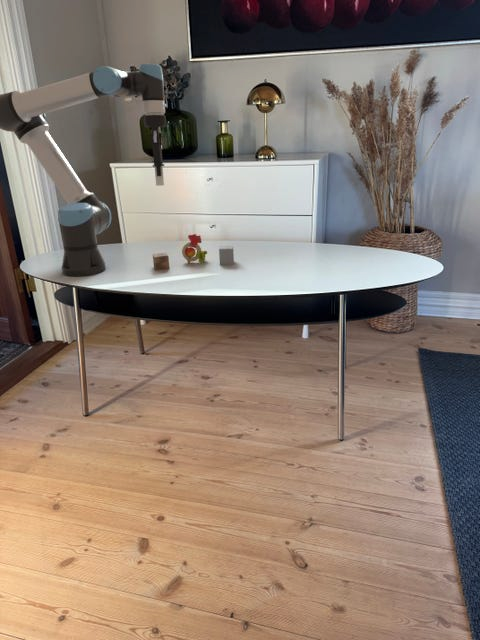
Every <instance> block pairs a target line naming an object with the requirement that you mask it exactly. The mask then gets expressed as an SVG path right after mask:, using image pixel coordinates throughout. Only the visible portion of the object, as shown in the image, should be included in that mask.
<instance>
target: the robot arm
mask: <svg viewBox="0 0 480 640" xmlns="http://www.w3.org/2000/svg"><path fill="white" fill-rule="evenodd" d="M164 82H165V81H164V75H163V69H162V66H161V65H160V64H158V63H141V64H140V65H139V69H138V70H137V71H121V70H119V69H116V68H114V67H113V66H110V65H109V66H108V65H102V66H99V67H97V68H96V69H95V70H94V71H92V72H87V73H83V74H80V75H76V76H74V77H71V78H68V79H64V80H60V81H57V82H54V83H50V84H46V85H43V86H40V87H36V88H33V89H30V90H27V91H23V92H20V91H18V90H13V91H9V92H5V93H2V94H0V129H1V130H2V131H6V132H11V133H13V134H14V135H15V136H16V138H18V140H19V142H20V143H22V144H26V145H27V146H28V147H29V149H30V151H32V153H33V155H34V156H35V157H36V159H37V161H38V162H39V163H40V165H41V166H42V168H43V169H44V171H45V172H46V174H47V175H48V177H49V178H50V180H51V181H52V182H53V184H54V185H55V187H56V188H57V189H58V191H59V193H60V194H61V196H62V197H63V199H64V200H65V202H66V204H65V205H63V206H61V207H59V209H58V210H57V222H58V223H59V224H58V226H59V229H60V230H59V231H60V236H61V241H62V246H63V256H62V264H61V271H62V274H63V275H64V276H69V277H83V276H90V275H91V276H92V275H96V274H98V273H102V272H105V271H106V269H107V268H106V262H105V259H104V258H103V256H102V254H101V252H100V250H99V247H98V240H97V239H98V238H97V235H100V234H102V233H103V232H105V231H106V230H107V229H108V228H110V227H109V226H110V225H111V223H112V211H111V210H110V208H109V207H108V205H106V203H104V202H102V201H100V200H99V199H98V197H97V196H96V194H95V193H94V192H92V191H91V192H90V191H88V190H87V188H86V187H85V185H84V184H83V182H82V181H81V179H80V178H79V176H78V175H77V173H76V172H75V171H74V170H75V169H74V168H72V166H71V164H70V162H69V161H68V159H67V158H66V157H65V155H64V153H63V152H62V151H61V149H60V148H59V146H58V144H56V142H55V141H54V139H53V137H52V136H51V134H50V133H49V130H50V125H49V124H48V121H46V117H47V116H46V114H48V113H52V112H55V111H58V110H62V109H65V108H68V107H72V106H77V105H79V104H82V103H86V102H89V101H93V100H95V99H100V98H104V97H108V96H109V97H110V98H111V97H114V98H121V97H123V98H124V97H141V99H142V101H141V102H142V112H143V114H144V116H143V123H144V127H146V128H151V132H150V133H149V137H150V140H151V141H150V142H151V143H150V144H151V147H152V156H153V164H152V167H153V168H154V174H155V175H154V176H155V186H156V187H157V186H158V187H160V186H162V187H163V186H165V181H164V180H165V179H164V167H165V163H163V153H162V152H163V151H162V150H163V149H162V146H163V132H160V131H161V130H160V128H165V127H167V118H166V117H167V116H166V115H165V113H166V108H167V103H165V89H164V88H165V87H164V85H165V84H164Z"/></svg>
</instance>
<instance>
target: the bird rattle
mask: <svg viewBox="0 0 480 640" xmlns="http://www.w3.org/2000/svg"><path fill="white" fill-rule="evenodd" d="M187 237H188V240H189V242H187V243H185V244H184V245H183V247H182V249H181V254H182V257H183V258H184V259H185V260H186V262H187V263H188V264H189V263H191V262H196V261H197V260H198V262H200V264H204V261H205V260H206V255H207V254H208V251H207V250H202V247H201V245H199V244H201V243H202V242H203V241H202V238H201V235H197V234H196V233H194V234H189V235H188V236H187Z"/></svg>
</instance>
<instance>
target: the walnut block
mask: <svg viewBox="0 0 480 640" xmlns="http://www.w3.org/2000/svg"><path fill="white" fill-rule="evenodd" d="M152 260H153V261H152V262H153V269H154V270H155V271H164V270H170V258H169V254H168V252H161V253H152Z"/></svg>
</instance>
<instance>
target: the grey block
mask: <svg viewBox="0 0 480 640" xmlns="http://www.w3.org/2000/svg"><path fill="white" fill-rule="evenodd" d="M218 252H219V253H218V254H219V266H232V265H234V264H235V259H234V256H235V255H234V245H219V248H218Z"/></svg>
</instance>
